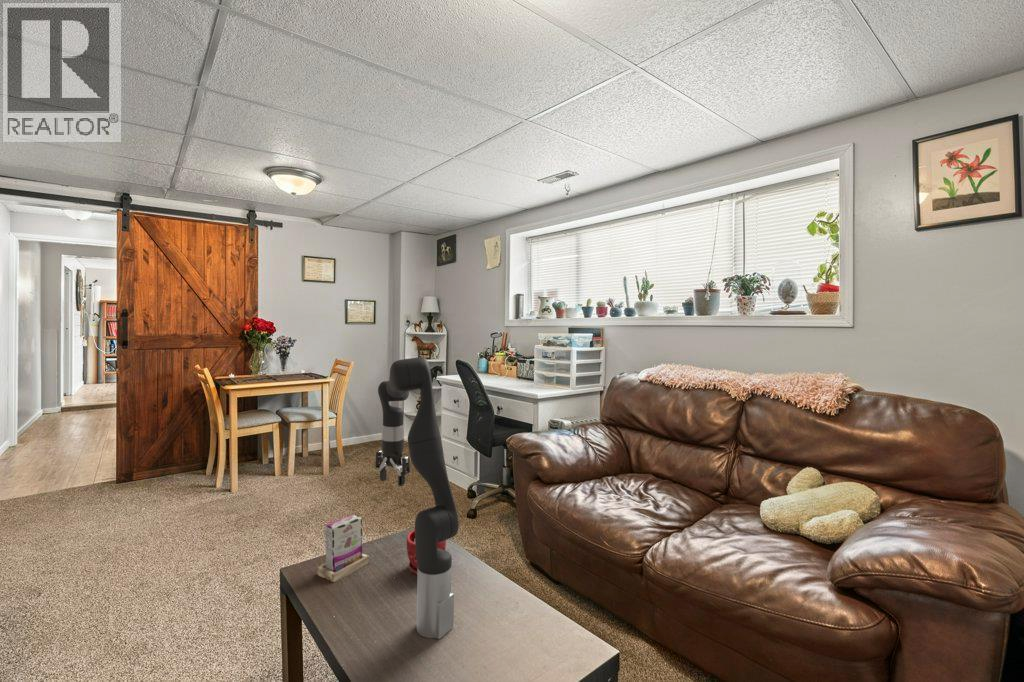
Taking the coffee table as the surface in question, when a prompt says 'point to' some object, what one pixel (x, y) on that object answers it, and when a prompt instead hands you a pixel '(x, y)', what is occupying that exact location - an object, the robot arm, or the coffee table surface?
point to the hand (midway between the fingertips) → (392, 483)
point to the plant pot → (412, 551)
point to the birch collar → (344, 571)
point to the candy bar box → (343, 542)
